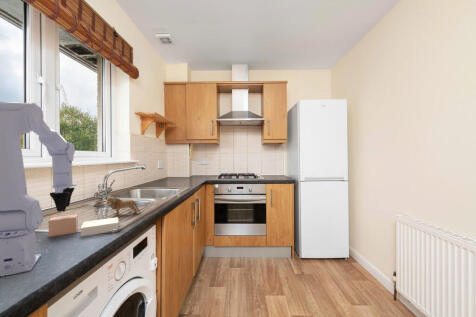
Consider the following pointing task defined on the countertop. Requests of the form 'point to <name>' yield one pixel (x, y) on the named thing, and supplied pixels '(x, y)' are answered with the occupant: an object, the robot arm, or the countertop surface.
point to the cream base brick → (99, 226)
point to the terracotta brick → (63, 225)
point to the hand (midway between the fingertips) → (63, 208)
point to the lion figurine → (121, 205)
